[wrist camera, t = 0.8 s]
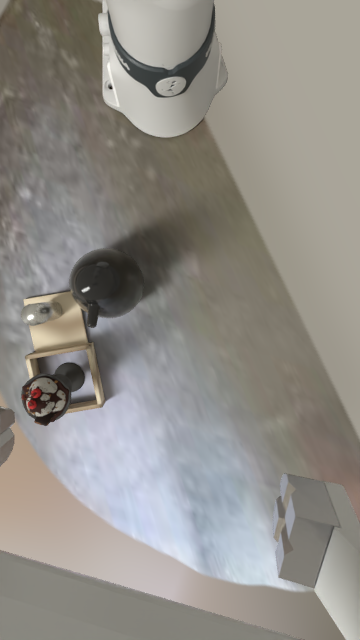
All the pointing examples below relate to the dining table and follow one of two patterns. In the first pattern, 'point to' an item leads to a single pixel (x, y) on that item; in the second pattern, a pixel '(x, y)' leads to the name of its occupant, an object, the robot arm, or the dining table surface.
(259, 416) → the dining table surface
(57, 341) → the wooden frame tray
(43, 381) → the sundae
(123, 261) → the pump dispenser
